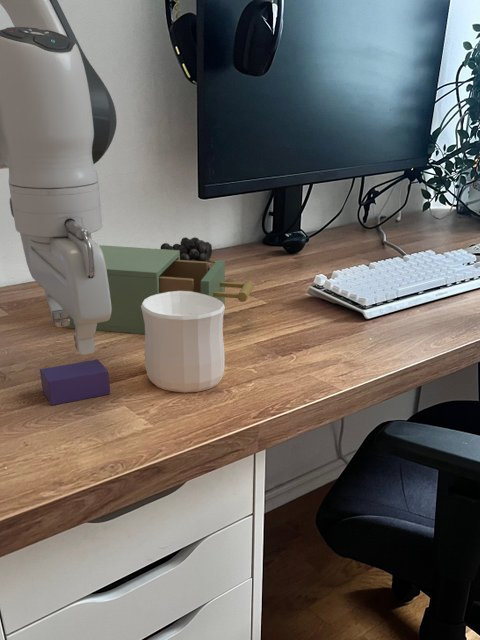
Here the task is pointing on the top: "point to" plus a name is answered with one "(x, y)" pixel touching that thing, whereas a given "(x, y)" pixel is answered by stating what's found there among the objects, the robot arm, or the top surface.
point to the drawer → (201, 280)
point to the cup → (184, 340)
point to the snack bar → (75, 381)
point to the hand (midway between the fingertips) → (72, 337)
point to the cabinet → (132, 284)
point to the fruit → (192, 250)
